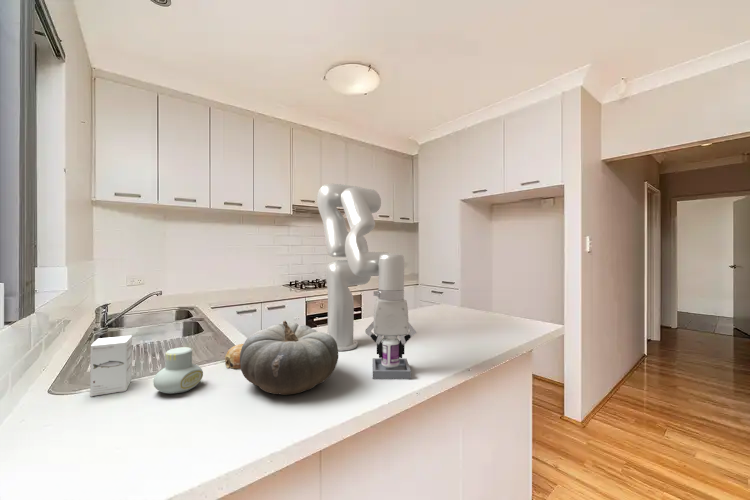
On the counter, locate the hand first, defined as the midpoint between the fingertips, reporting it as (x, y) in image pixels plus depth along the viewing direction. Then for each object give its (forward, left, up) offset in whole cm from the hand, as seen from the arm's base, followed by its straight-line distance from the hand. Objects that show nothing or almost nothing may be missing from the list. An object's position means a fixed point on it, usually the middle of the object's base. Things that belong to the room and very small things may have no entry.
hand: (390, 356), depth 98 cm
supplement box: (-72, -12, -5) cm, 73 cm away
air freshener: (-55, -12, -5) cm, 56 cm away
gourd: (-27, -8, -5) cm, 29 cm away
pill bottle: (0, 0, -3) cm, 3 cm away
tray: (0, 0, -5) cm, 5 cm away
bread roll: (-46, +7, -5) cm, 46 cm away
